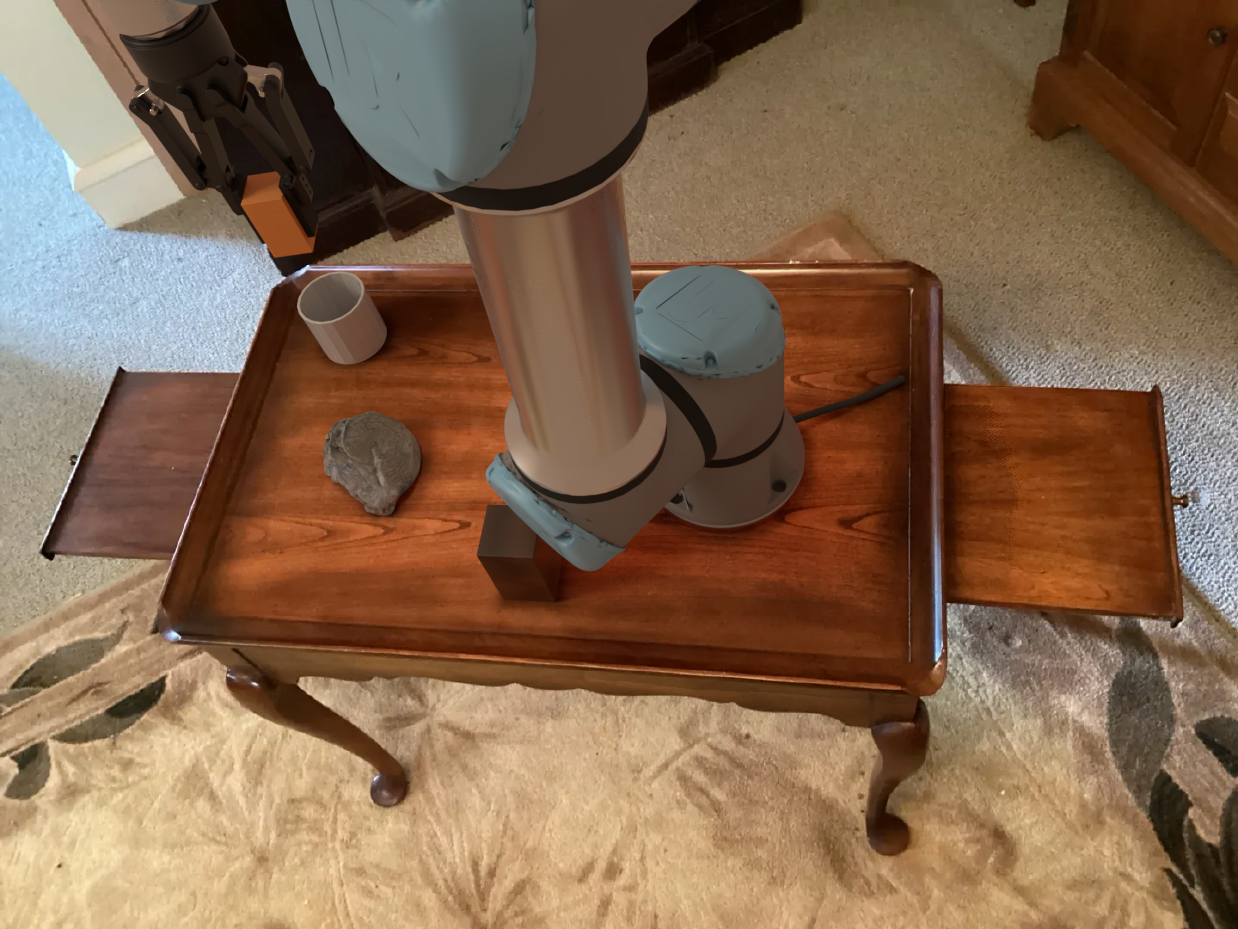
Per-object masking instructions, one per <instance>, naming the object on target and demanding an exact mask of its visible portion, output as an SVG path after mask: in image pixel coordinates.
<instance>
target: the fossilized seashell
mask: <svg viewBox="0 0 1238 929" xmlns="http://www.w3.org/2000/svg"><path fill="white" fill-rule="evenodd" d="M324 440H325V441H324V444H323V448H322V454H323V472H324V475H325V476H326V477H330V479H331V482H332V483H334V484H339V485H341V486H343V487H344V488H345V489H346V490H347V491H348V493H349V495H350V496H351V497H353V498H354V500H356V501H357V502H359V503H361V504H363V508H364V510H365V512H366V513H370V514H373V515H376V516H383V517H387V516H390V515H392V513H393V512H394V511H395V509H396V504H397V502H398V501H399V498H400V497H401V496H403V495H404V494H405V493H406V492H407V490H408V489H409V488H411V486H412V485H413V484H414V482H415V481H416V479H417V477H418V476H419V473H420V469H421V464H422V452H421V449H420V445H419V442H418V440H417V438H416V436H414V434H413V433H412V432H411V431H410V430H409V429H408V428H407V426H405V425H404V424H403V423H402V422H400V421H399V420H398V419H395V418H393V417H391V416H389V415H386V414H383V413H382V412H381V413H380V412H378V411H374V410H368V411H365V412H364V413H360V414H357V415H355V416H352V417H347V418H341V419H340V420H339V419H338V421H337V422H334V423H333V425H332V426H331V427H330V428H329V433H327V434H325V438H324Z"/></svg>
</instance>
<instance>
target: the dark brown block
mask: <svg viewBox="0 0 1238 929" xmlns="http://www.w3.org/2000/svg"><path fill="white" fill-rule="evenodd" d="M476 551H477V552H476V557H477V559H478V560H479V562H480V564H481V565H482V567H483V569H484V570H485V573H487V575H488V578H490V580H491V582H492V583H493V585H494V587H495V589H496V590H497V591H498V593H499V595H500V597H501V598H502V599H503V600H509V601H510V600H512V601H533V602H549V603H550V602H552V603H556V601H557V596H558V588H559V584H560V578H561V572H562V565H563V558H564V557H563V556H562V555H560V554H559V553H558V552H557V551H556V550H555V549H553V548H552V547H551V546H550V545H549V544H548V543H547V542H545V541H544V540H543V539H542V538H541V537H540V536H539V535H538V534H537V533H536V532H534V531H533V530H532V529H531V528H530V527H529V526H528V525H527V524H526V523H525V522H524V521H523V520H522V519H521V518H520V517H519V516H518V515H517V514H516V513H515V512H514V511H513V510H512V509H511V508H510V507H509V506H508V505H507V504H491V503H490V504H487V505H486V510H485V514H484V519H483V523H482V528H481V533H480V537H479V542H478V546H477V550H476Z"/></svg>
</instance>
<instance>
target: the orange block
mask: <svg viewBox="0 0 1238 929" xmlns="http://www.w3.org/2000/svg"><path fill="white" fill-rule="evenodd" d="M246 179H247V182H246V186H245V190H244V195H243V199H242V202H241V206H242V207H243V209H244V211H245V212H246V214H247V215H248V217H249V218H250V220H251V222H252V223H253V225H254V226H255V228H256V229H257V231H258V233H259V234H260V236H261V237H262V239H263V240H264V242H265V244H264V245H266V247H267V249H268V250H269V252H270V253H271V254H272V256H273V258H275V259H277V258H283V257H289V256H290V257H291V256H297V255H302V254H303V255H304V254H311V253H313V252H314V249H315V248H314V247H315V241H316V236H317V234H316V235H315V237H309V238H308V236H307V235H306V233H305V231H304V230H303V228H302V226H301V224H300V223H299V221H298V219H297V217H296V216H295V214H294V212H293V211H292V209H291V207H290V205H289V204H288V202H287V200H286V198H285V197H284V195H283V194H282V192H281V190H280V189H279V187H278V185H279V181H280V175H279V174H278V173H277V172H276V171H271V172H264V173H258V174H251V175H247V178H246ZM318 225H319V223H318V224H317V226H318ZM317 231H318V228H317V229H316V232H317Z"/></svg>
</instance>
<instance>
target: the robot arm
mask: <svg viewBox="0 0 1238 929" xmlns="http://www.w3.org/2000/svg"><path fill="white" fill-rule="evenodd" d="M94 1H95V3H96V4H97V6H98V8H99V9H100V11H101V13H102V14H103V15H104V17H105V19H106V21H107V22H108V23H109V25H110V26H111V28H112V30H113V31H115V32H116V33H118V35H119V36H118V37H119V40H120V42H121V43H122V45H123V46H124V48H125V49H126V50H127V52H128V54H129V55H130V57H131V58H132V60H133V61H134V63H135V65H136V66H137V68H138V69H139V71H140V72H141V74H142V75H143V76H144V77H146V79H147V84H146V85H143V84H138V85H136V86H135V87H134V90H133V93H132V95H131V98H130V101H129V104H128V110H129V111H130V112H131V113H132V114H133V115H134V116H136V117H137V118H138V119H139V120H141V121H142V122H143V123H144V124H145V125H147V126H148V127H149V129H150V130H151V131H152V133H153V134H154V135H155V137H156V138H157V139H158V141H159V142H160V143H161V145H162V146H163V148H164V149H165V150H166V152H167V153H168V154H169V157H171V159H172V160H173V161H174V163H175V164H176V166H177V167H178V169H180V171H181V172H182V174H183V175H184V176H185V178H186V179H187V181H188V182H189V183H190V184H191V186H192V187H193V188H194V189H195V190H196V191H199V192H200V191H201V192H202V191H203V192H204V191H205V190H206V189H213V190H215V191H216V192H218V193H220V194H221V196H222V197H223V199H224V200H225V202H226V204H227V206H229V208H230V210H231V211H232V213H234V214H235V215H236V216H237V217H238V216H243V217H244V218H245V220H246V221H247V223H248V224H249V226H250V227H251V229H252V231H253V232H254V234H255V235H256V237H257V239H258V241H259V242H260V243H261V245H266V244H265V242H264V240H263V239H262V237H261V236H260V234H259V233H258V231H257V229H256V228H255V226H254V225H253V223H252V222H251V220H250V218H249V217H248V215H247V214H246V212H245V211H244V209H243V207H242V206H241V202H242V199H243V195H244V190H245V186H246V182H247V178H246V175H245V174H244V173H243V172H242V173H240V172H239V173H234V168H235V165H234V164H231V163H230V160H229V157H228V155H227V152H226V149H225V146H224V144H223V140H222V138H221V135H220V133H219V129H218V126H217V124H216V121H215V118H226V119H227V121H228V122H229V123H230V124H231V126H233V127H234V128H235V129H239V130H240V131H241V132H242V133H243V135H245V137H246V138H247V139H248V140H249V142H251V144H252V145H253V146H254V147H255V148H256V150H257V151H258V152H259V153H260V154H261V156H262V157H263V158H264V159H265V160H266V162H267V163H268V164H269V165H270V166H271V167H272V168H273V170H274V172H277V173H278V174H279V175H280V181H279V185H278V187H279V189H280V190H281V192H282V194H283V195H284V197H285V198H286V200H287V202H288V204H289V205H290V207H291V209H292V211H293V212H294V214H295V216H296V217H297V219H298V221H299V223H300V224H301V226H302V228H303V230H304V231H305V233H306V235H307V236H308V238H309V237H315V235H316V236H317V231H316V229H317V230H318V225H319V219H320V218H319V214H318V213H317V211H316V209H315V208H314V206H313V204H312V201H313V197H314V196H313V195H314V189H313V188H312V186H311V184H310V182H309V180H308V178H307V177H306V175H309V174H311V173H312V168H313V164H314V158H315V150H314V147H313V145H312V142H311V141H310V139H309V136H308V135H307V132H306V129H305V127H304V126H303V124H302V121H301V119H300V117H299V115H298V113H297V111H296V108H295V107H294V105H293V104H294V103H293V102H292V100H291V97H290V96H289V94H288V91H287V89H286V88H285V77H284V67H283V66H282V65H281V64H280V63H279V62H275V61H272V62H270V63H269V64H268V65H267V67H264V66H263V67H262V66H258V65H257V66H256V65H252V64H249V62H248V61H247V60H246V58H244V57H243V56H242V55H241V54H239V53H238V52H237V51H236V49H235V48H234V47H233V45H232V41H231V39H230V37H229V34H228V32H227V30H226V29H225V27H224V25H223V23H222V21H221V20H220V17H219V16H218V14H217V12H216V10H215V8H214V6H213V5H212V3H215V2H217V1H218V0H94ZM701 1H702V0H285V2H286V7H287V10H288V14H289V17H290V18H289V19H290V20H291V23H292V26H293V30H294V32H295V35H296V37H297V40H298V42H299V44H300V47H301V50H302V52H303V55H304V57H305V59H306V61H307V63H308V65H309V68H310V70H311V71H312V74H313V75H314V77H315V79H316V81H317V83H318V85H320V87H324V88H326V90H327V91H328V92H329V94H330V96H331V98H332V100H333V103H334V110H335V112H336V114H337V115H338V117H339V118H340V120H341V122H342V123H343V125H344V126H345V127H346V128H347V130H348V131H349V132H350V134H351V135H352V136H353V138H354V139H355V140H356V141H357V143H358V144H359V145H360V146H361V147H362V148H363V150H365V152H366V153H367V154H368V155H369V156H370V157H371V158H372V159H373V160H375V161H376V163H378V165H380V166H381V167H382V168H383V169H384V170H385V171H387V172H388V173H389V174H390V175H392V176H394V177H395V178H396V179H397V180H399V181H400V182H402V183H404V184H406V185H407V186H409V187H412V188H413V189H416V190H419V191H423V192H428V193H429V194H430V195H432V196H434V197H435V198H436V199H438V200H441V201H442V202H444V203H446V204H448V205H451V206H452V209H453V212H454V215H455V219H456V221H457V224H458V228H459V231H460V234H461V237H462V240H463V243H464V246H465V250H466V253H467V256H468V259H469V262H470V266H471V268H472V271H473V274H474V277H475V281H476V284H477V287H478V290H479V294H480V297H481V299H482V303H483V306H484V308H485V312H486V315H487V318H488V321H489V324H490V328H491V331H492V334H493V337H494V341H495V344H496V346H497V349H498V353H499V355H500V360H501V362H502V365H503V368H504V371H505V374H506V378H507V381H508V384H509V387H510V390H511V394H512V396H511V398H510V400H509V402H508V404H507V408H506V411H505V416H504V420H503V432H504V434H503V435H504V441H505V444H506V448H507V449H506V450H505V451H503V452H498V453H497V454H496V455H495V456H494V458H493V461H492V462H491V463H490V464H489V466H488V467H487V468H486V470H485V479H486V482H487V483H488V485H489V486H490V488H491V489H492V490H493V491H494V493H496V495H497V496H498V497H499V498H500V499H501V500H502V501H503V502H504V503H505V505H508V506H509V507H510V508H511V509H512V510H513V511H514V512H515V513H516V514H517V515H518V516H519V517H520V518H521V519H522V520H523V521H524V522H525V523H526V524H527V525H528V526H529V527H530V528H531V529H532V530H533V531H534V532H536V533H537V534H538V535H539V536H540V537H541V538H542V539H543V540H544V541H545V542H547V543H548V544H549V545H550V546H551V547H552V548H553V549H555V550H556V551H557V552H558V553H559V554H560V555H562V556H563V558H564V559H565V560H567V561H568V562H569V563H570V564H571V565H573V566H574V567H576V568H578V569H580V570H581V571H585V572H594V571H598V570H600V569H601V568H603V567H604V566H605V565H606V564H608V563H609V562H610V561H611V560H612V559H614V558H615V557H616V556H618V554H621V553H623V552H624V551H625V550H626V549H627V545H628V543H629V542H631V540H632V539H633V538H634V537H635V536H636V535H637V534H639V533H640V531H641V530H642V529H643V528H645V527H646V525H648V524H649V522H651V520H652V519H653V518H654V517H655V516H656V515H657V514H659V513H660V511H661V510H662V511H663V512H664V513H665V514H666V515H667V516H668V517H670V518H671V519H673V520H674V521H676V522H677V523H679V524H681V525H682V526H685V527H686V528H690V529H692V530H696V531H699V532H705V533H711V534H734V533H741V532H745V531H748V530H752V529H755V528H757V527H760V526H762V525H764V524H766V523H768V522H770V521H771V520H773V519H774V518H776V517H777V516H778V515H779V514H781V513H782V512H783V511H784V510H785V509H787V507H788V506H789V505H790V504H791V503H792V501H793V500H794V499H795V497H796V495H797V494H798V492H799V490H800V488H801V486H802V483H803V479H804V475H805V468H806V450H805V444H804V440H803V436H802V434H801V433H802V432H801V430H800V428H799V426H798V424H799V423H802V422H806V421H808V420H811V419H813V418H817V417H820V416H823V415H827V414H830V413H832V412H835V411H839V410H842V409H846V408H849V407H853V406H855V405H858V404H861V403H863V402H865V401H868V400H871V399H872V398H875V397H877V396H879V395H881V394H884V393H885V392H887V391H889V390H892V389H893V388H895V387H898V386H899V385H901V384H904V383H905V382H906V378H905V376H904V375H903V374H901V375H899V376H897V377H895V378H893V379H890V380H888V381H887V382H884V383H881V384H880V385H878V386H875V387H874V388H872V389H869V390H868V391H865V392H862V393H860V394H858V395H855V396H852V397H849V398H846V399H843V400H839V401H836V402H833V403H832V402H831V403H829V404H825V405H823V406H820V407H817V408H814V409H811V410H808V411H804V412H801V413H799V414H796V415H791V413H790V412H789V410H788V408H787V406H786V404H785V348H786V346H787V342H786V333H785V332H786V331H785V328H784V326H783V317H782V316H783V315H782V312H781V308H780V305H779V303H778V301H777V298H776V296H774V294H773V293H772V291H771V290H770V289H769V288H768V287H767V286H766V285H765V284H764V283H762V282H761V280H759V279H758V278H756V277H754V276H752V275H751V274H749V273H747V272H744V271H742V270H740V269H737V268H733V267H730V266H725V265H718V264H709V265H703V266H702V265H696V264H693V265H687V266H681V267H678V268H675V269H672V270H669V271H667V272H665V273H662V274H661V275H658V276H657V277H655V278H654V279H652V280H651V281H650V282H649V283H647V285H645V286H644V287H643V288H642V290H640V292H639V294H638V295H637V296H636V298H634V287H633V277H632V267H631V266H632V265H631V256H630V245H629V235H628V225H627V214H626V203H625V202H626V201H625V193H624V183H623V182H624V181H623V172H624V171H625V170H626V169H627V167H628V166H629V165H630V164H631V162H632V161H633V160H634V159H635V157H636V155H637V153H638V152H639V150H640V149H641V146H642V144H643V141H644V139H645V137H646V135H647V131H648V125H649V122H650V119H649V118H650V105H649V80H648V64H647V53H648V49H649V47H650V45H651V43H652V42H653V40H654V38H656V37H657V36H658V35H659V34H661V33H662V32H664V30H666V29H667V28H668V27H670V26H671V25H672V24H673V23H675V22H676V21H677V20H678V19H680V18H681V17H682V16H683V15H685V14H686V13H687V12H689V10H691V9H693V7H694V6H696V5H697V4H699V3H700V2H701ZM248 83H250V84H252V85H253V86H254V87H255V90H256V92H257V93H258V96H259V97H261V98H264V101H265V106H266V108H267V110H268V112H269V114H270V116H271V118H272V120H273V122H274V125H275V127H276V128H277V130H276V129H275V128H274V127H273V126H272V125H271V123H270V122H269V121H268V119H267V118H266V117H265V116H264V115H263V114H262V112H261V111H260V110H259V108H258V107H257V106H256V104H255V100H254V98H253V97H252V95H251V94H250V93H249V91H248V90H247V85H248ZM168 104H169V105H170V106H172V107H174V109H177V110H178V111H180V112H181V113H182V116H183V117H184V120H185V123H186V125H187V128H188V130H189V132H190V134H193V137H194V138H195V141H196V144H195V143H194V141H193V140H192V139H191V136H189V134H188V133H187V131H186V130H185V128H184V126H183V125H182V124H181V123H180V122H179V120H178V119H177V117H176V115H175V114H174V113H173V111H172V109H170V107H169V105H168ZM277 131H278V132H279V133H278V132H277ZM196 145H197V146H198V147H197V146H196ZM233 173H234V176H233ZM317 224H318V225H317ZM315 238H316V237H315Z"/></svg>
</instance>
